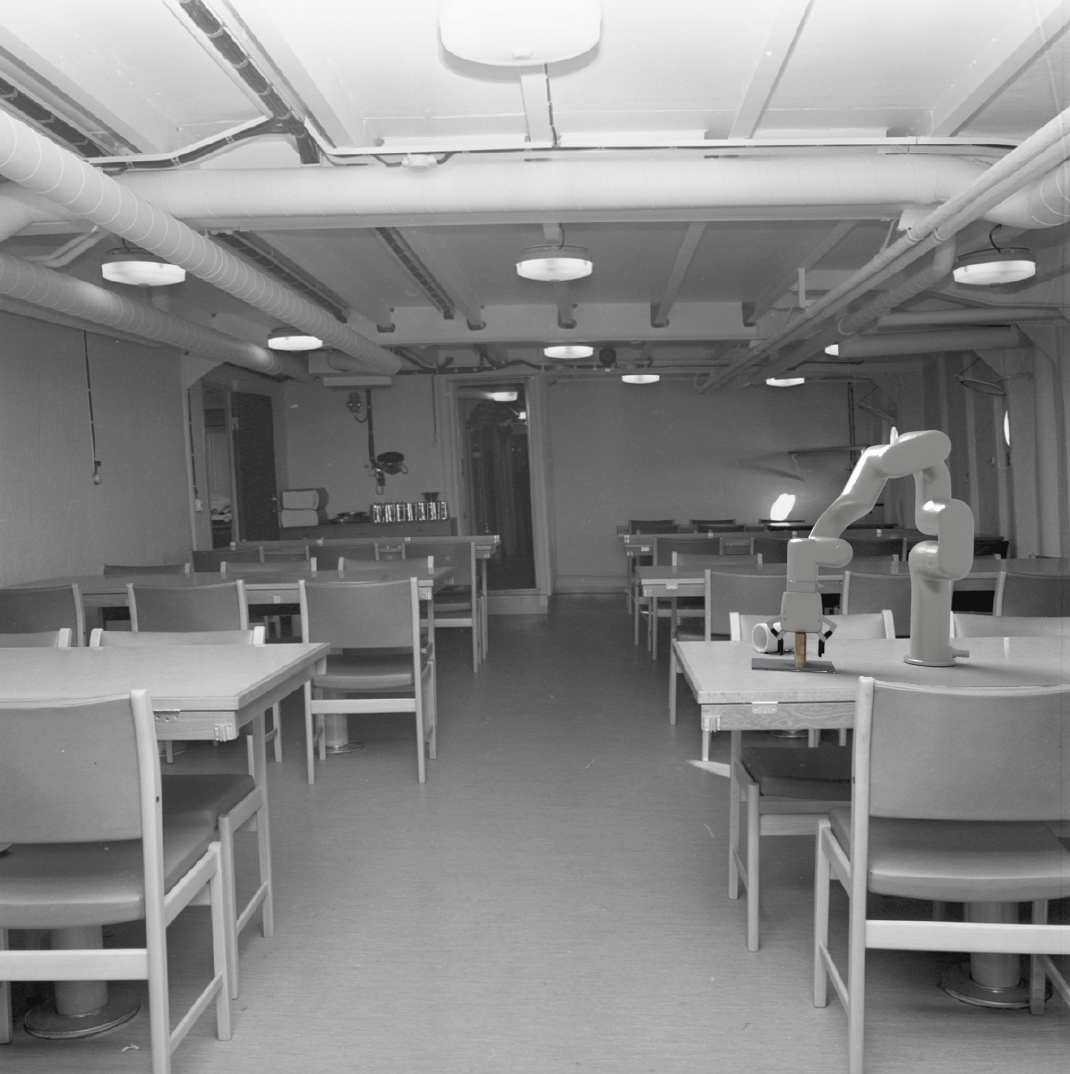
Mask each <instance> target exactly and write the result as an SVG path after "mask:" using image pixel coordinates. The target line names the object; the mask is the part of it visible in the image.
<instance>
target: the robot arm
mask: <svg viewBox="0 0 1070 1074" xmlns="http://www.w3.org/2000/svg"><path fill="white" fill-rule="evenodd" d="M951 450H952V442H951V440H950V437H949V436H948V435H947V434H946V433H945V432H943V431H940V430H936V429H928V430H917V431H910V432H904V433H902V434H900V435H899V436H898V437H896V439H895V441H894V442H893V443H891V444H890V443H888V444H877V445H871V446H870V447H867V448H866V449H865V450H864V451H863V452H862V454H860V457H859V459H858V461H857V463H856V464H855V466H854V468H853V470H852V472H851V474H850V476H849V477H848V480H847V482H846V484H845V485H844V488H843V489H842V491H841V494H840V495H839V496H838V497H837V498H836V499H835V500H834V502H832V503H831V504H830V506H829V507H828V508H827V509H826V510H824V511H823V513H822V514H821V515H820V517H819V518H818V519H817V521H816V522H815V524H814V525H813V527H812V530H811V531H810V534H809V535H808V538H807V537H793V538H790V539H789V540H788V541H787V548H786V549H787V550H786V551H787V552H786V553H787V558H786V561H787V563H786V565H787V566H786V591H783V593H782V597H781V604H780V605H781V606H780V614H778V615H776V616H774V617H773V618H770V619H769V620H767V621H766V624H767V626H768V628H769V629H770V631H771V633H772V634H773V635H774V636H775V637H776V638H777V639H778V645H777V652H776V653H779V656H780V657H783V656H784V652H783V646H784V640H783V636H784V635H785V634H786V633H787V632H794V633H806V634H816V635H817V637H818V638H819V639H818V641H817V642H818V643H817V644H818V646H817V656H818V658H823V657H822V656H823V655H824V654H825V652H826V651H825V647H826V644H825V643H826V641H827V640H828V639H829V638H831V636H832V635H833V634H834V632H835V630H836V629H837V627H838V624H837V623H835V622H834V621H832V620H830V619H829V618H827V617H826V616H823V603H822V595H821V592H819V590H822V589H824V587H825V584H824V583H821V582H819V567H827V568H834V569H837V568H838V569H839V568H843V567H845V566H847V565H848V564H849V563H850V562H851V561H852V559H853V556H854V555H853V554H854V552H853V551H854V550H853V547H852V546H851V544H850V543H849V542H848V541H846V540H845V539H843V538H840V536H841V534H842V533H843V532H844V531H845V530H846V529H847V527H849V526H850V525H851V524H852V523H854V522H855V521H857V520H859V519H861V518H863V517H865V516H866V515H867V514H869V513H870V512H871V511H872V510H873V509H874V507H875V504H876V503H877V501H878V499H879V498H880V495H881V493H882V491H883V489H884V487H885V486H886V483H887V481H888V480H889V479H899V478H902V477H907V476H910V475H912V476H913V479H914V484H915V486H914V487H915V503H914V504H915V505H914V506H915V507H914V509H915V511H914V521H915V527H916V528H917V530H918V531H919V532H920V533H922V534H924V535H928V536H936V537H937V540H924V541H923V540H922V541H920V542H918V543H916V544H915V545H914V546H913V547H912V549H911V550H910V551H909V555H908V570H909V576H910V583H911V584H910V585H911V589H910V590H911V594H910V595H911V597H910V598H911V599H910V631H909V635H910V637H909V642H910V643H909V654H906V655H903V662H905V663H908V664H912V665H917V666H927V667H928V666H929V667H950V666H955V665H956V663H957V661H956V658H966V659H969V658H970V650H969V649H956V648H953V646H951V645H950V644H951V643H950V641H951V613H952V612H951V610H952V609H951V607H952V592H951V587H950V583H949V581H960V580H962V579H964V578H966V577H967V575H969V573H970V572H971V570H972V566H973V562H974V552H975V551H974V549H975V548H974V546H975V543H974V542H975V540H974V539H975V519H974V514H973V511H972V509H971V507H970V506H969V505H968V504H967V503H966V502H964V501H963V500H960V499H957V498H952V482H951V481H952V479H951V473H950V471H949V469H948V466H947V465H946V462H945V460H947V459H948V457H949V456H950V453H951ZM774 623H780V626H781V630H780V632H779V633H778V632H777V631H776V629H775V628H774V626H773V624H774ZM823 624H826V626H829V628H828V630H827V631H826V632H825V633H823V632H822V631H823Z"/></svg>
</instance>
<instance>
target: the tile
mask: <svg viewBox="0 0 1070 1074" xmlns="http://www.w3.org/2000/svg"><path fill="white" fill-rule="evenodd" d="M793 660H794V662H795V666H796V667H801V668H806V660H807V633H795V649H794V657H793Z"/></svg>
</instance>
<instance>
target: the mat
mask: <svg viewBox="0 0 1070 1074" xmlns="http://www.w3.org/2000/svg"><path fill="white" fill-rule="evenodd" d="M754 669H768V670H767V671H776V670H799V671H827V672H836V673H837V670H836V668H835V666H834V664H833V661H831V660H811V659H808V660H807V659H806V668H801V667H796V666H795V662H794V659H790V658H789V659H787V658H786V659H785V658H782V659H781V658H768V657H767V658H764V657H763V658H762V657H761V658H760V657H751V670H754Z"/></svg>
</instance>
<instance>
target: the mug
mask: <svg viewBox="0 0 1070 1074" xmlns="http://www.w3.org/2000/svg"><path fill="white" fill-rule="evenodd" d="M773 626H774V628H775V629H776V631H777V632H778V633H779V632H780V630H781V626H780V622H776V623H774V624H773ZM783 640H784V646H783V651H784V652H787V651H786V650H792V651H795V633H794V632H787V633H786V634H785V635H784V636H783ZM751 643H752V646H753V649H755V650H756V652H757V651H758V653H759V652H762V653H761V654H766V653H765V652H768V653H776V652H775V651H777V645H778V639H777V638H776V637H775V636H774V635H773V634H772V633H771V631H770V629H769V628H768V626H767V624H766V623H765V622H764V623H757V624H755V625H754V627H753V628H752V631H751Z"/></svg>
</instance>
